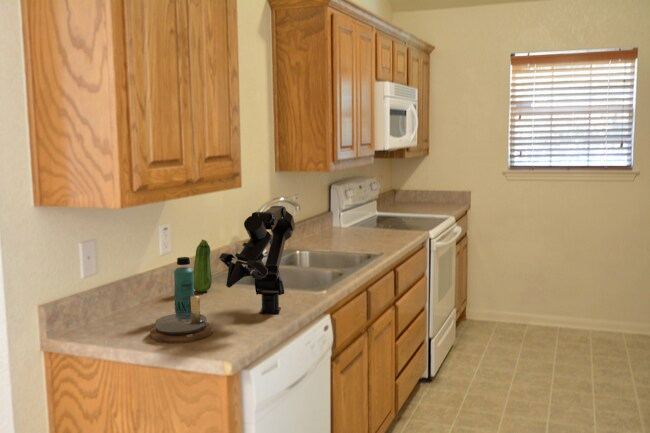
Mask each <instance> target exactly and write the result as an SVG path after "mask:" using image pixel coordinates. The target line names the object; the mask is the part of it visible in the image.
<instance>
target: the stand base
mask: <svg viewBox="0 0 650 433" xmlns="http://www.w3.org/2000/svg"><path fill="white" fill-rule="evenodd" d="M212 333H213V325H212V324H210V323H209V322H207V327H206V329H204V330H203V331H200V332H197V333H193V334H188V335H163V334H160V333H158V332H156V325H154V327H152V328H151V329H150V337H151V339H152V340H153V341H156V342H159V343H165V344H185V343H192V342H196V341H200V340H203V339H206V338H209V337H210V336H211V335H212Z"/></svg>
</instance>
